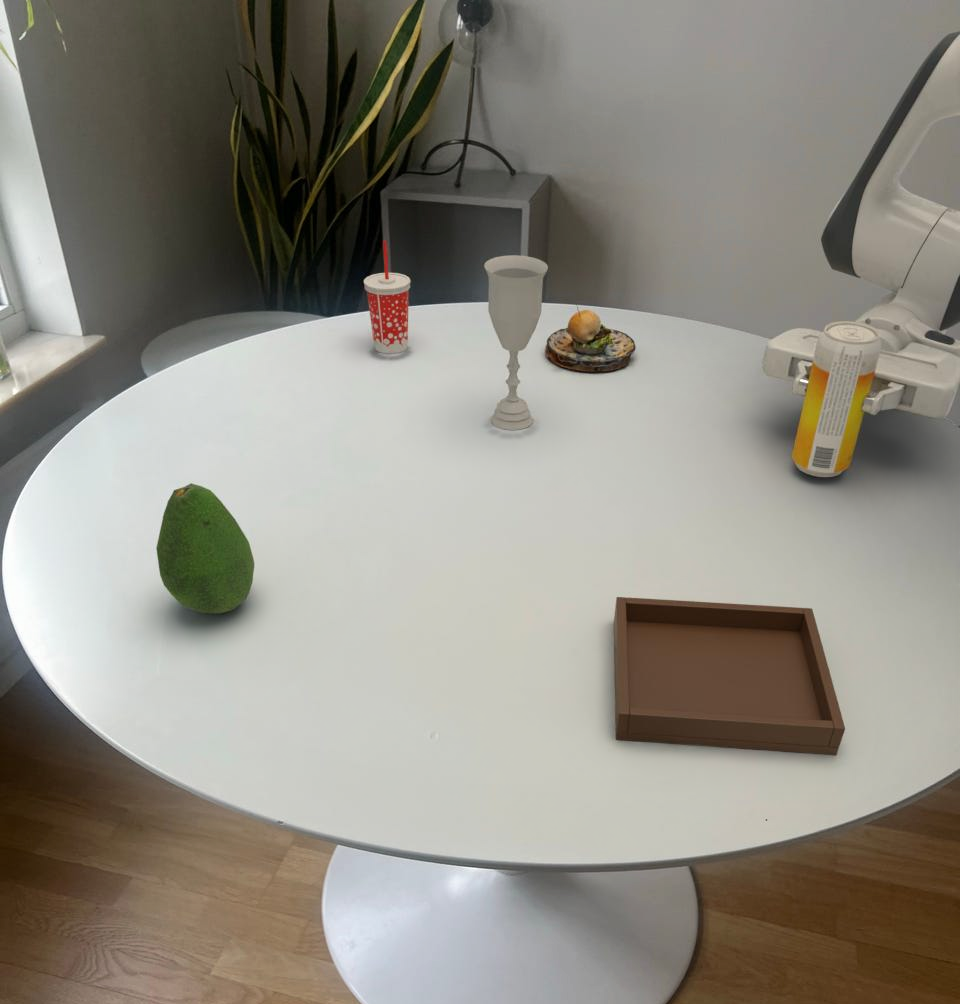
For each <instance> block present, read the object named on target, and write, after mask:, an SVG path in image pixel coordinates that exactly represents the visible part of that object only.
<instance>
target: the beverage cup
mask: <svg viewBox="0 0 960 1004" xmlns="http://www.w3.org/2000/svg"><path fill="white" fill-rule="evenodd" d="M382 247H383V249H382V250H383V264H384V265H383V267H384V272H379V273H374V274H371V275H368V276H366V277H365V278H364V279H363V284H364V290H365V291H366V295H367V303H368V310H369V318H370V325H371V326H370V327H371V332H372V342H373V347H374V350H375V351H376V352H379V353H382V354H389V355H390V354H391V355H392V354H398V353H399V354H400V353H402V352H404V351H406V350H407V349H408V347H409V302H410V301H409V298H410V297H409V296H410V295H409V294H410V288H411V283H412V282H411V281H412V280H411V278H410V277H409V276H407V275H406V274H402V273H398V272H389V259H388V257H389V256H388V240H386V239H384V240H382Z"/></svg>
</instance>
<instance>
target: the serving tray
mask: <svg viewBox="0 0 960 1004" xmlns="http://www.w3.org/2000/svg"><path fill="white" fill-rule="evenodd" d="M613 659H614V660H613V661H614V713H615V714H614V716H615V717H614V724H615V725H614V727H615V728H614V729H615V733H614V734H615V735H614V736H615V740H617V741H618V740H619V741H632V742H647V743H661V744H675V745H676V744H677V745H689V746H702V747H703V746H704V747H717V748H731V749H732V748H734V749H744V750H745V749H746V750H747V749H748V750H759V751H760V750H761V751H776V752H789V753H790V752H791V753H806V754H818V755H833V756H837V755H838V752H839V749H840V746H841V743H842V740H843V736H844V734H845V731H846V727H845V723H844V719H843V716H842V712H841V707H840V705H839V701H838V696H837V694H836V690H835V685H834V683H833V678H832V675H831V672H830V668H829V664H828V661H827V658H826V654H825V650H824V647H823V643H822V639H821V636H820V632H819V628H818V625H817V621H816V618H815V614H814V610H813V608H812V607H810V608H808V607H796V606H795V607H793V606H779V605H777V606H776V605H762V604H761V605H760V604H744V603H728V602H712V601H695V600H694V601H693V600H676V599H660V598H658V599H657V598H644V597H643V598H641V597H624V596H616V598H615V609H614V616H613Z"/></svg>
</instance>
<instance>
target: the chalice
mask: <svg viewBox="0 0 960 1004" xmlns="http://www.w3.org/2000/svg"><path fill="white" fill-rule="evenodd" d="M483 268H484V269H485V271H486V274H487V276H488V303H487V305H488V309H487V311H488V314H489V318H490V321H491V324H492V327H493V329H494V331H495V334H496V337H497V339H498V340H499V342H500V343H499V344H500V345H501V347H502V349H503V350H506V351H508V353H509V359H508V363H507V364H506V368H507V370H508V374H509V375H508V378H507V379H506V380H505V383H506V384H507V386H508V394H507V395H506V396H505V397H504V398H501V400H499V402H498V403H496V408H495V409H494V412H493V415H492V416H491V418H490V422H491V424H492V425H493V426H495V427H496V428H499V429H502V430H507V431H508V430H509V431H519V430H523V429H526V428H528V427H531V426H532V425H533V424H534V423H533V422H534V418H533V416H532V415H531V411H530V408H529V405H528V403H527V401H525V400H524V399H523V398H521V397H520V396H518V392H517V391H518V386H519V385H520V384H521V380H520V379H519V377H518V371H519V370H520V368H521V365H520V363H519V359H518V355H519V352H521V351H523V350H525V349H526V348H527V346H528V344H529V343H530V340H531V339H532V337H533V335H534V333H535V331H536V329H537V326H538V323H539V320H540V317H541V315H542V305H543V304H542V303H543V285H544V283H543V281H544V277H545V276H546V274H547V272H548V268H549V266H548V264H547V263H546V262H545V261H543V260H541V259H538V258H536V257H531V256H527V255H517V254H516V255H515V254H513V255H502V256H495V257H493V258H490V259H488V260H487V261H486V262H485V263H484V265H483Z"/></svg>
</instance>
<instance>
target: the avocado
mask: <svg viewBox="0 0 960 1004" xmlns="http://www.w3.org/2000/svg"><path fill="white" fill-rule="evenodd" d="M165 506H166V507H165V510H164V512H163V516H162V520H161V525H160V529H159V533H158V538H157V544H156V554H157V556H156V557H157V564H158V571H159V576H160V578H161V582H162V584H163V586H164V588H165V589H166V590H167V591H168V593H169V594H170V595H171V596H172V597H173V598H174V599H175V600H176V601H177V602H178V603H179V604H180V605H181V606H183V607H185V608H187V609H189V610H191V611H195V612H199V613H202V614H211V615H212V614H215V615H216V614H223V613H227V612H231V611H234V610H235V609H236V608H237V607H238V606H239V605H240V604H242V603H243V602H244V601H245V600H247V598H248V596H249V594H250V592H251V589H252V585H253V581H254V572H255V559H254V555H253V552H252V548H251V544H250V541H249V540H248V538H247V537H246V534H245V533H244V531H243V530H242V528H241V526H240V525H239V523H238V521H237V520H236V518H235V517H234V516H233V515H232V513H231V512H230V510H229V509H228V508H227V507H226V506H225V504H224V503H223V502H222V500H220V499H219V497H217V495H216V494H215V493H214V492H213V491H212V490H211V489H208V488H207V487H204V486H202V485H199V484H195V483H189V484H187V485H185V486H182V487H179V488H177V489H174V490H173V491H172V494H171V495H170V497H169V499H168V500H167V503H166V505H165Z"/></svg>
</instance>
